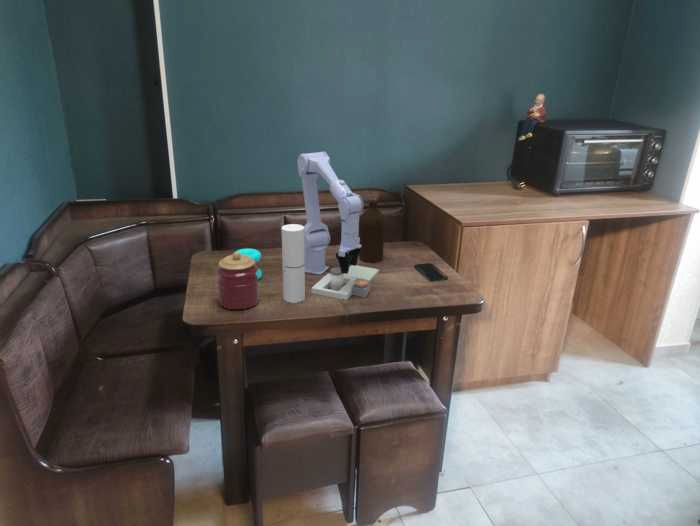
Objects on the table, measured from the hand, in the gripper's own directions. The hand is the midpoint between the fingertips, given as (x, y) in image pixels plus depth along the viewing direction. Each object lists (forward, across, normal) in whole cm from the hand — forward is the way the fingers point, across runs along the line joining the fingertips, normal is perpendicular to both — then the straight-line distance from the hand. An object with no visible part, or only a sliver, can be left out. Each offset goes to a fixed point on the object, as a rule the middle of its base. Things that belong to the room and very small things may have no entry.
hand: (348, 269), depth 181 cm
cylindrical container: (+8, -13, +14) cm, 21 cm away
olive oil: (+9, +32, +3) cm, 33 cm away
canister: (+9, -23, +29) cm, 38 cm away
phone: (+9, +28, -22) cm, 37 cm away
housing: (+8, 0, +2) cm, 8 cm away
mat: (+8, +15, +1) cm, 17 cm away
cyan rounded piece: (+9, -5, +37) cm, 39 cm away
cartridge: (+8, 0, +4) cm, 9 cm away
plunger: (+8, 0, -5) cm, 9 cm away
